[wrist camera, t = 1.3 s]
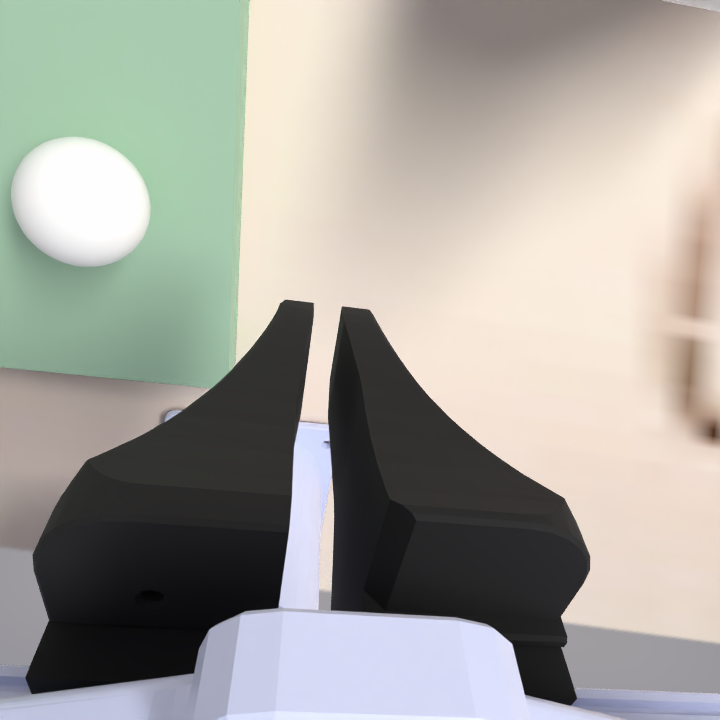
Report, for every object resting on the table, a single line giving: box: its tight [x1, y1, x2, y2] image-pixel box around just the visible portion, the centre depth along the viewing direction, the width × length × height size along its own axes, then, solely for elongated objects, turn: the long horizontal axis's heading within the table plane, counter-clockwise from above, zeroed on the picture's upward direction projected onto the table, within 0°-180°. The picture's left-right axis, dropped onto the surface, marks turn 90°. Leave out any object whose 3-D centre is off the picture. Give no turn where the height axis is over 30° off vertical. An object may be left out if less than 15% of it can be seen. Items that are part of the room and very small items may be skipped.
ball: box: [11, 136, 151, 267], centre depth 16 cm, size 4×4×4 cm
